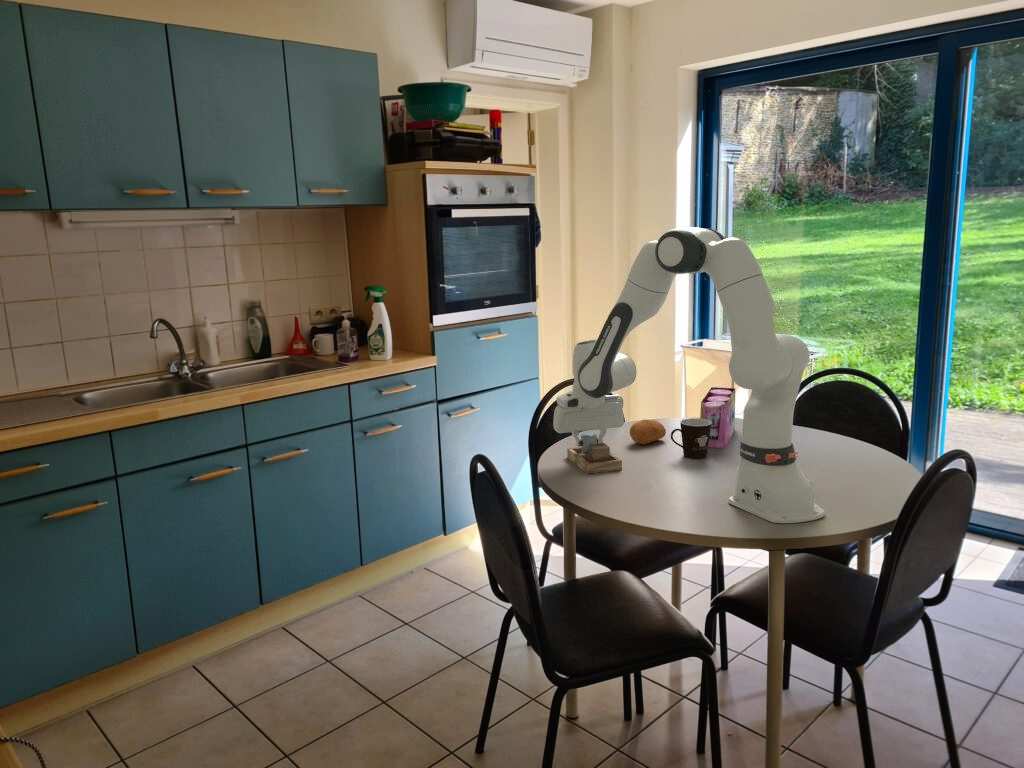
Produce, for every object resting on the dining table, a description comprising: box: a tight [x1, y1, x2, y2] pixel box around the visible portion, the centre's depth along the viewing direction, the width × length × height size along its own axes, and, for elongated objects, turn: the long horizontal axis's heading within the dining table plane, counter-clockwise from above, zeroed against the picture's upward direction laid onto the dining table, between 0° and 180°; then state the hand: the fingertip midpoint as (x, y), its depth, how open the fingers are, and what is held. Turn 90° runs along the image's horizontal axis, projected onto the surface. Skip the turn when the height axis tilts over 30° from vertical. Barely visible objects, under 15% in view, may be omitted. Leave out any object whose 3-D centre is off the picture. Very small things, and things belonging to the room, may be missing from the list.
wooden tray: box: [566, 446, 623, 475], centre depth 215 cm, size 16×10×3 cm, turn 15°
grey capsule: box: [580, 432, 598, 454], centre depth 218 cm, size 4×4×5 cm
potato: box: [629, 419, 667, 446], centre depth 234 cm, size 7×13×7 cm, turn 123°
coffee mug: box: [670, 417, 711, 460], centre depth 219 cm, size 12×9×10 cm
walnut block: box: [588, 442, 611, 463], centre depth 211 cm, size 4×4×5 cm
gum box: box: [699, 386, 736, 449], centre depth 236 cm, size 24×8×14 cm, turn 158°
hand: (589, 444), depth 218 cm, fingers open, 5 cm apart
